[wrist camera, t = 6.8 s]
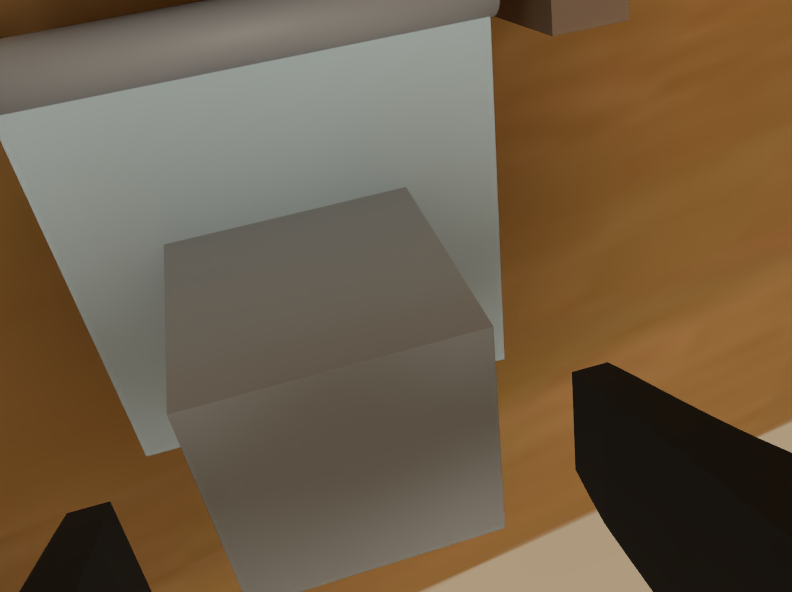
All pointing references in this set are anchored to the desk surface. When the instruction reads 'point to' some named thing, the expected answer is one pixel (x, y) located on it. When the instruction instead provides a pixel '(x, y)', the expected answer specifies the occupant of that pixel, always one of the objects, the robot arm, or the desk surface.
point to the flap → (243, 145)
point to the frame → (563, 14)
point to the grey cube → (332, 391)
